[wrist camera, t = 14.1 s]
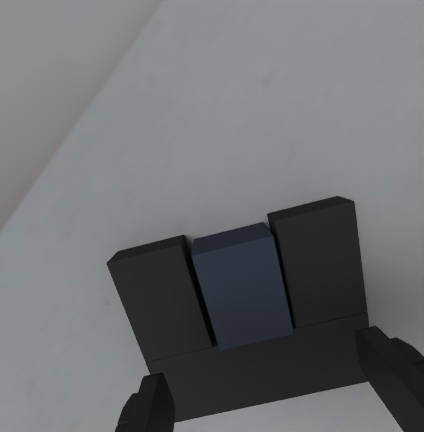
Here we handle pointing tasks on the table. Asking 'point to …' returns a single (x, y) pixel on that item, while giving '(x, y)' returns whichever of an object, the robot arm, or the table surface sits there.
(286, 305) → the small block
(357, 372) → the black notched square slab
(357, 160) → the table surface
